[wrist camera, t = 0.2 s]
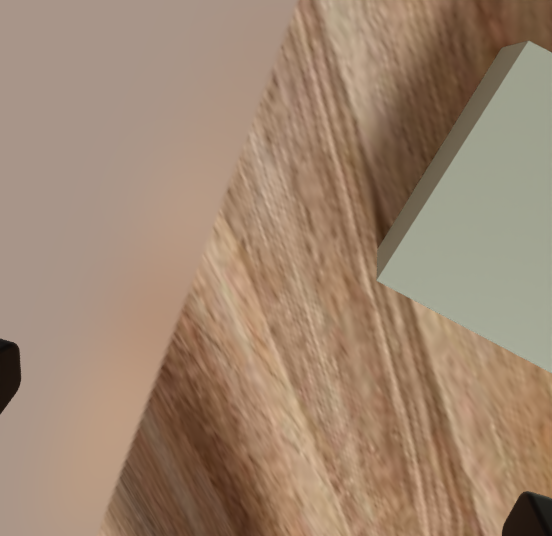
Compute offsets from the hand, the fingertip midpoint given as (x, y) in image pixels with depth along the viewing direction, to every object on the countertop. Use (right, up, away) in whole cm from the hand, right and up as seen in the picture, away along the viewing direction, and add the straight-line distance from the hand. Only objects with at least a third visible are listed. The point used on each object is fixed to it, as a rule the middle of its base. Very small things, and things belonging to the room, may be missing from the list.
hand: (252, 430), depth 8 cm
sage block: (+11, +5, +12) cm, 17 cm away
